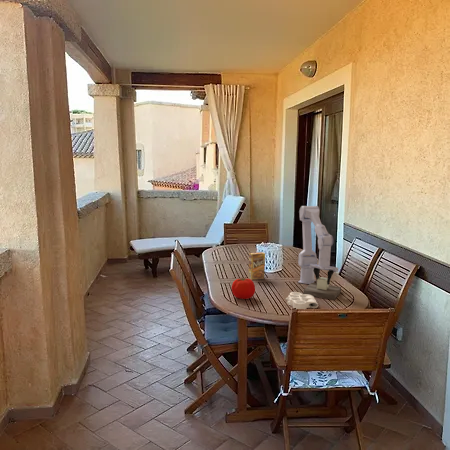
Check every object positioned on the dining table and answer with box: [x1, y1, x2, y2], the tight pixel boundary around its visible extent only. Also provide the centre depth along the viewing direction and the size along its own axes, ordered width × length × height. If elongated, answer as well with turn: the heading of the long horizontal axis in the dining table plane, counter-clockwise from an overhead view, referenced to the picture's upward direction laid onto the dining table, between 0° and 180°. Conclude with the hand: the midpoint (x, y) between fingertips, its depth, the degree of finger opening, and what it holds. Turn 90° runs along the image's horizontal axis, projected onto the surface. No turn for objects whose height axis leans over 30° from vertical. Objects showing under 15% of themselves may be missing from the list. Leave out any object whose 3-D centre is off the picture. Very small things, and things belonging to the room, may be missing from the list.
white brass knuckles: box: [285, 291, 319, 310], centre depth 198 cm, size 3×18×15 cm
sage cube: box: [316, 276, 330, 290], centre depth 215 cm, size 5×5×5 cm
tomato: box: [231, 276, 256, 300], centre depth 204 cm, size 12×12×10 cm
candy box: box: [247, 251, 266, 281], centre depth 240 cm, size 9×4×15 cm, turn 115°
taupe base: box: [302, 282, 342, 301], centre depth 215 cm, size 16×16×2 cm
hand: (322, 283), depth 215 cm, fingers closed on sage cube, 5 cm apart
